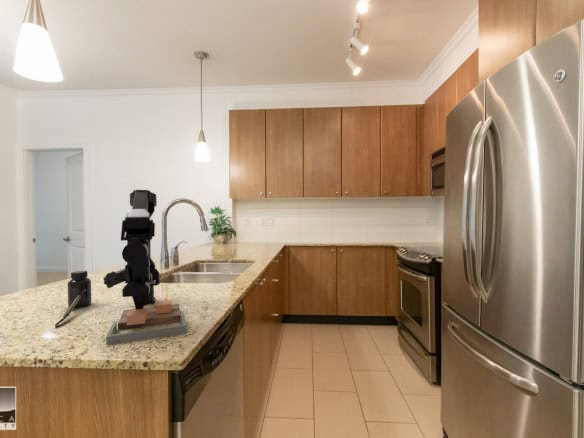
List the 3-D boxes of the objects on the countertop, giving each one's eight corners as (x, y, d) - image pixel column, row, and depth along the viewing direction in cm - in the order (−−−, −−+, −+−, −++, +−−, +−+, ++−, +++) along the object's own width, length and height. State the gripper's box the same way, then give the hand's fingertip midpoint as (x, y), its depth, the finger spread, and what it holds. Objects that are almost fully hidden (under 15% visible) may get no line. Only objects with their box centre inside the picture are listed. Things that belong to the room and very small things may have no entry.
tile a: (129, 318, 83) (129, 310, 83) (147, 316, 85) (147, 308, 85) (126, 325, 79) (126, 316, 79) (145, 323, 81) (145, 314, 80)
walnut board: (123, 318, 91) (123, 310, 91) (179, 311, 97) (178, 303, 97) (117, 332, 80) (117, 323, 80) (180, 323, 86) (180, 315, 86)
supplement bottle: (96, 302, 107) (95, 270, 107) (81, 308, 100) (80, 274, 100) (78, 302, 108) (78, 269, 108) (62, 308, 101) (62, 273, 101)
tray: (113, 333, 79) (113, 322, 79) (184, 323, 86) (183, 313, 86) (106, 349, 70) (106, 336, 70) (186, 336, 77) (185, 325, 77)
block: (156, 309, 92) (156, 301, 92) (171, 307, 93) (171, 299, 93) (155, 314, 87) (155, 305, 87) (171, 312, 89) (171, 303, 89)
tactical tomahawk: (72, 303, 101) (69, 301, 101) (88, 290, 102) (85, 288, 101) (43, 340, 82) (40, 338, 81) (63, 324, 82) (59, 322, 82)
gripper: (111, 256, 90) (112, 307, 90) (98, 266, 73) (99, 329, 73) (151, 254, 94) (152, 302, 94) (148, 263, 77) (149, 322, 77)
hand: (139, 313), depth 85 cm, fingers closed
